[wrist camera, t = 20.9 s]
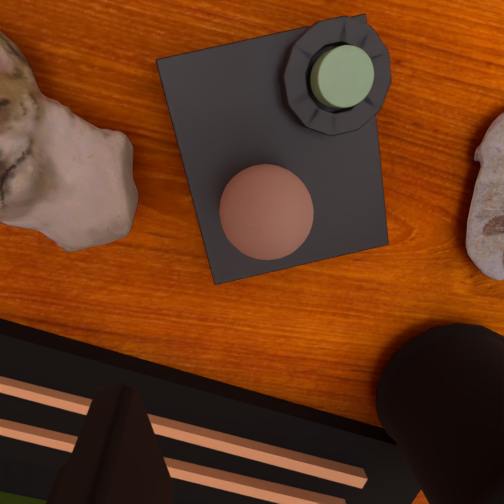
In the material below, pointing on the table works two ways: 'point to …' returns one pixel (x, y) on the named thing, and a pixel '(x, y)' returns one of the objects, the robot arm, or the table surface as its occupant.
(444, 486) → the container
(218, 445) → the sushi set
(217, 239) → the grey push button base
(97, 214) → the ceramic sculpture
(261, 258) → the egg
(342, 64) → the button
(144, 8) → the table surface
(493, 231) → the stone
